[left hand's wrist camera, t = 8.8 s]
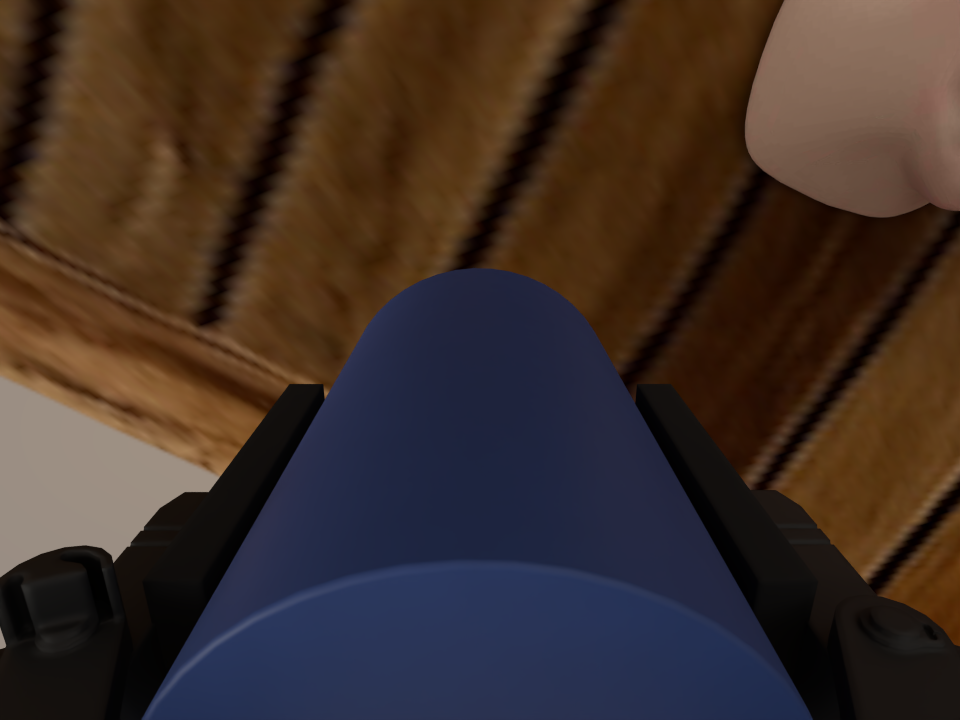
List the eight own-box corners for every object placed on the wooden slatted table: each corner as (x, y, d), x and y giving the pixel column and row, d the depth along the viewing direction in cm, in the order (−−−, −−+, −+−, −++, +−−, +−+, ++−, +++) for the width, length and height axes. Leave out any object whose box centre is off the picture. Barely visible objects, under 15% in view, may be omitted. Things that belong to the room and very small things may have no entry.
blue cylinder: (486, 549, 19) (494, 1117, 8) (296, 403, 17) (-19, 870, 6) (663, 389, 17) (984, 843, 6) (470, 208, 15) (448, 396, 4)
